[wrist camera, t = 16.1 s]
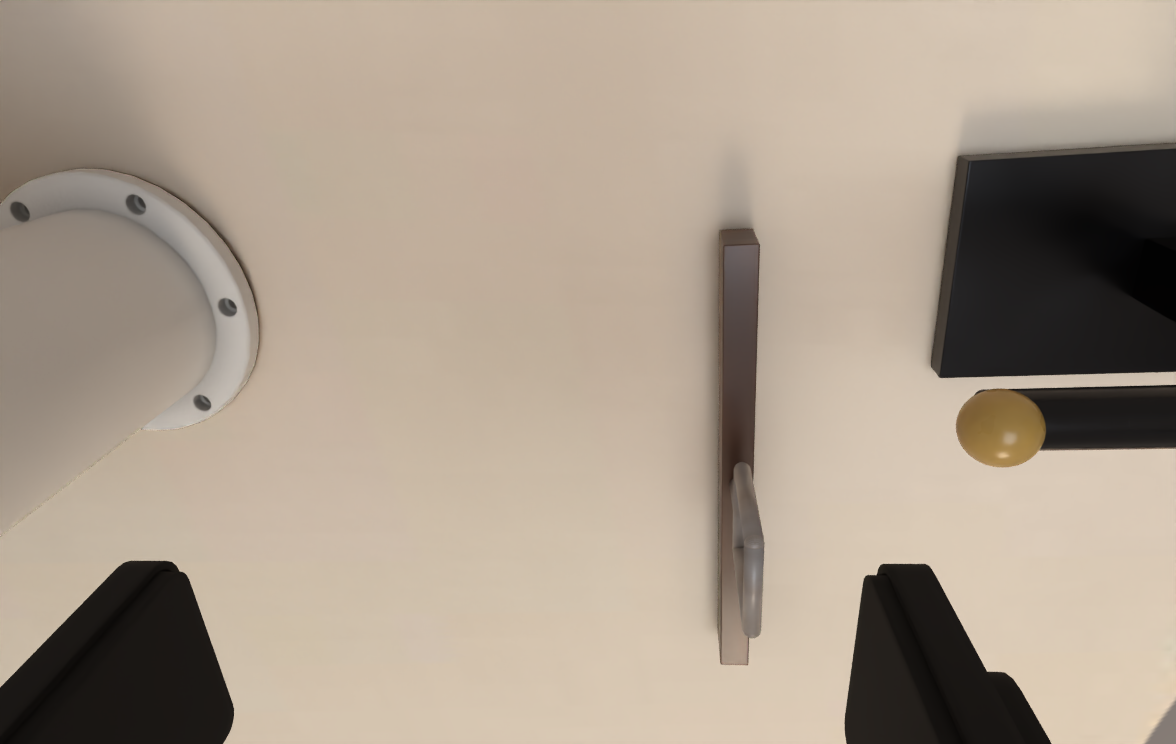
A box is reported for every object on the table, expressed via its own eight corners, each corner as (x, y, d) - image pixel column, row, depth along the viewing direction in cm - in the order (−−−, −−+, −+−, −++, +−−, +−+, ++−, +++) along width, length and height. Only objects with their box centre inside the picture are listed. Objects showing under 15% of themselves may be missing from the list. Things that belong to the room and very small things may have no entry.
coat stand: (838, 369, 33) (967, 627, 19) (853, 162, 29) (1028, 291, 15) (1204, 358, 31) (1651, 636, 17) (1271, 136, 27) (1919, 255, 13)
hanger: (717, 630, 40) (730, 794, 31) (719, 229, 31) (738, 308, 22) (743, 630, 40) (764, 795, 31) (753, 228, 30) (786, 306, 22)
